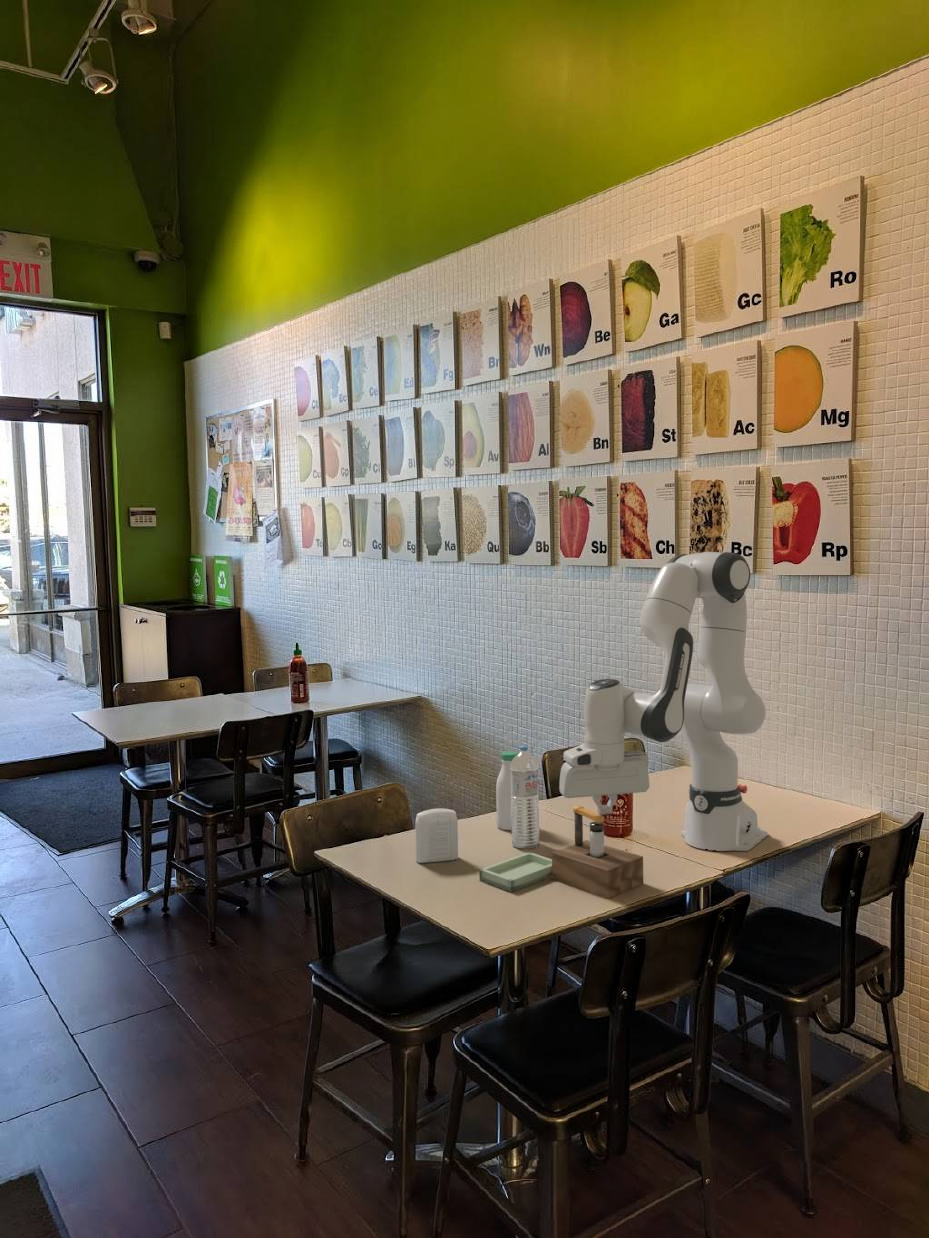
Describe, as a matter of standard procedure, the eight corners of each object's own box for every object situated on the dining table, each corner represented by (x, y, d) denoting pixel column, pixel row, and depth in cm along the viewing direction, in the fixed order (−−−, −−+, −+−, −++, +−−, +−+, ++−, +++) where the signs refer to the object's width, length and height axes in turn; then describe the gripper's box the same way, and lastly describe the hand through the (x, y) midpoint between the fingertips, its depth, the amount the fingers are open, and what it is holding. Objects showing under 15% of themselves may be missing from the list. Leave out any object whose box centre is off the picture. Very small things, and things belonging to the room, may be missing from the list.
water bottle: (517, 851, 223) (514, 750, 221) (508, 842, 229) (506, 744, 227) (543, 848, 225) (541, 748, 222) (533, 839, 231) (532, 742, 229)
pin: (596, 877, 204) (595, 820, 203) (607, 880, 202) (606, 823, 201) (587, 880, 202) (586, 823, 201) (598, 884, 200) (597, 826, 199)
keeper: (571, 811, 208) (571, 806, 208) (579, 809, 209) (579, 805, 209) (596, 822, 199) (596, 818, 199) (605, 821, 200) (605, 816, 200)
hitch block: (587, 865, 212) (586, 807, 211) (643, 883, 200) (642, 822, 199) (552, 878, 204) (551, 819, 203) (608, 898, 192) (607, 835, 191)
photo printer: (456, 854, 222) (454, 804, 220) (460, 860, 217) (459, 809, 216) (414, 859, 219) (412, 808, 218) (417, 865, 215) (416, 813, 214)
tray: (529, 862, 215) (529, 851, 215) (561, 872, 207) (560, 862, 207) (479, 880, 204) (479, 869, 204) (511, 892, 197) (510, 880, 197)
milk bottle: (531, 828, 240) (529, 754, 238) (504, 833, 237) (502, 757, 235) (518, 820, 247) (517, 748, 245) (492, 824, 244) (490, 751, 242)
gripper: (642, 746, 208) (642, 806, 209) (556, 752, 204) (557, 813, 205) (653, 752, 202) (654, 814, 203) (565, 759, 197) (566, 821, 199)
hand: (604, 813), depth 204 cm, fingers closed
